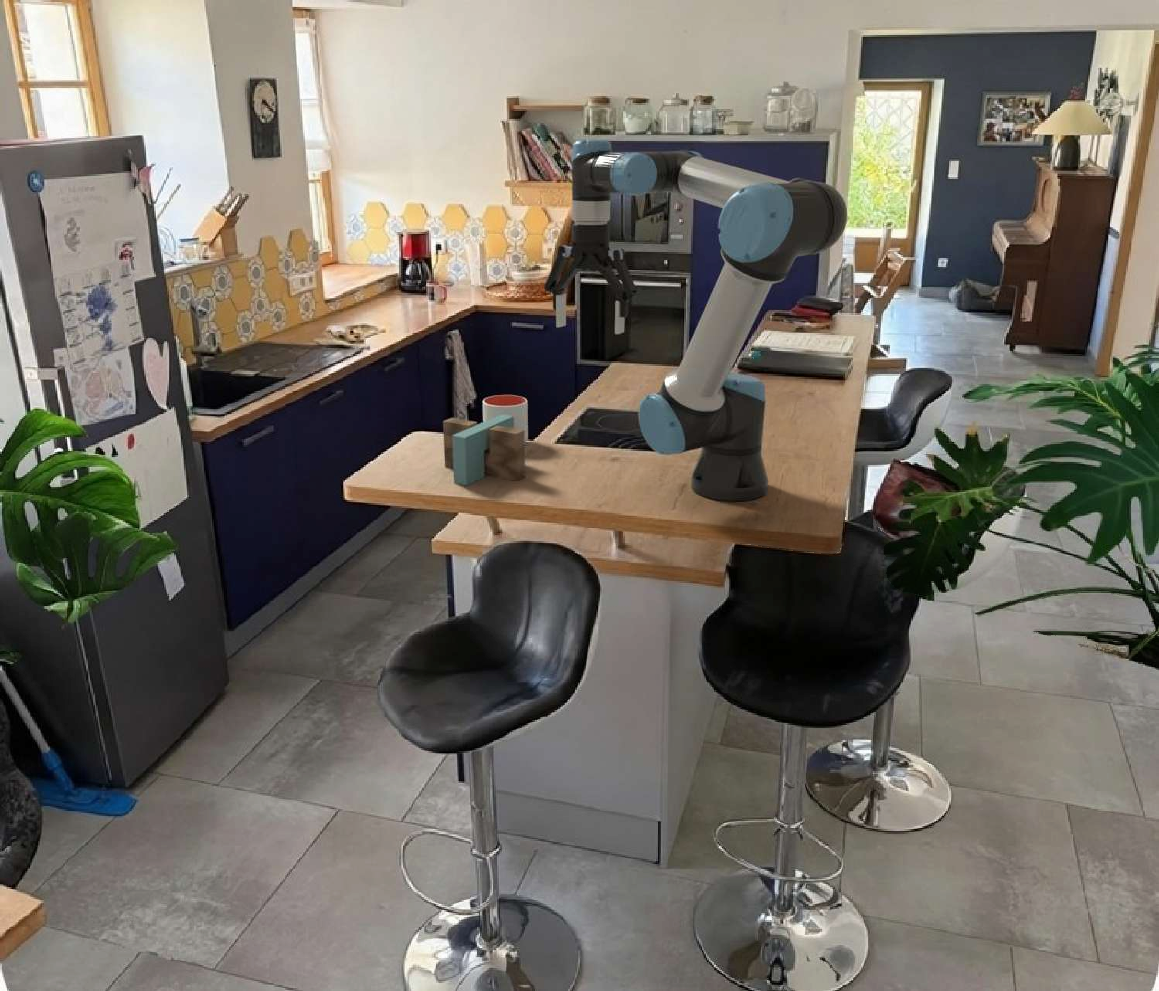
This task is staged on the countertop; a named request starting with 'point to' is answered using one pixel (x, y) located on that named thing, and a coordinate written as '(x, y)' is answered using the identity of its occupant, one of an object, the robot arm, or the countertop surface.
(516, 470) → the u-notched wood block
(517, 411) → the cup
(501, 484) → the countertop surface
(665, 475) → the countertop surface
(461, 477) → the teal arch piece
